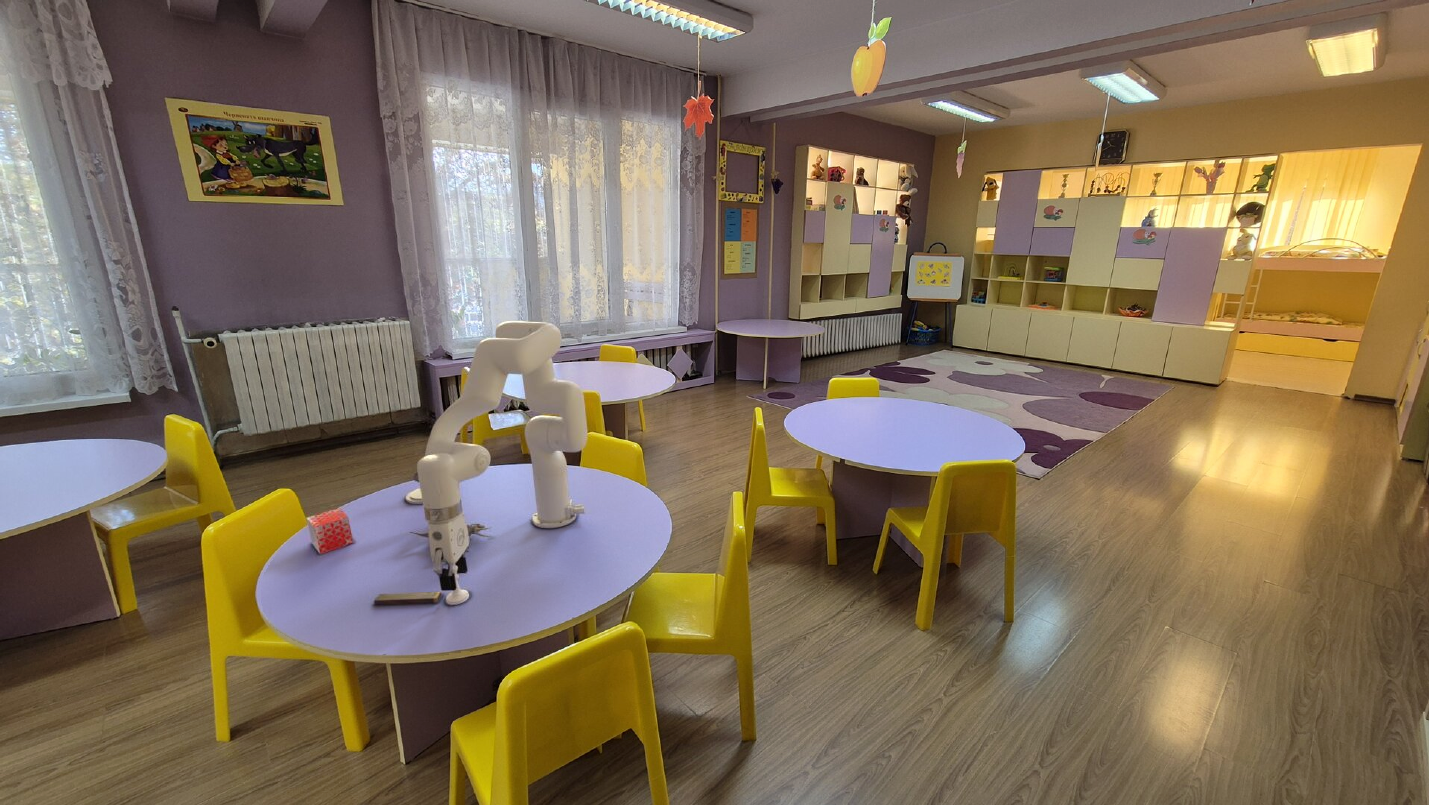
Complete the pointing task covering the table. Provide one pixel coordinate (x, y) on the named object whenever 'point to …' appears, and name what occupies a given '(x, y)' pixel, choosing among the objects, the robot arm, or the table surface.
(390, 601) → the walnut stick
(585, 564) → the table surface
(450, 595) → the chess piece
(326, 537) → the red patterned box
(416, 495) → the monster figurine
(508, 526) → the table surface
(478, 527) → the figurine
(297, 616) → the table surface
